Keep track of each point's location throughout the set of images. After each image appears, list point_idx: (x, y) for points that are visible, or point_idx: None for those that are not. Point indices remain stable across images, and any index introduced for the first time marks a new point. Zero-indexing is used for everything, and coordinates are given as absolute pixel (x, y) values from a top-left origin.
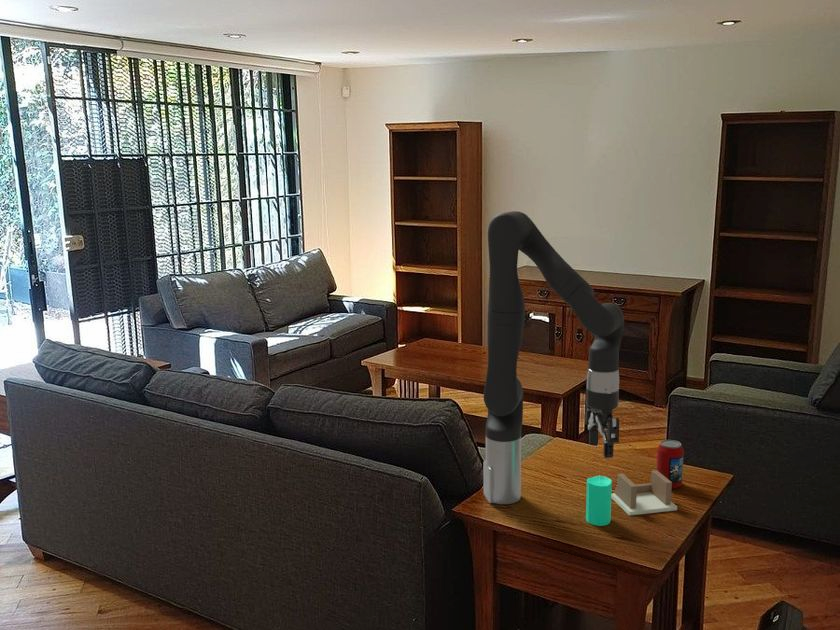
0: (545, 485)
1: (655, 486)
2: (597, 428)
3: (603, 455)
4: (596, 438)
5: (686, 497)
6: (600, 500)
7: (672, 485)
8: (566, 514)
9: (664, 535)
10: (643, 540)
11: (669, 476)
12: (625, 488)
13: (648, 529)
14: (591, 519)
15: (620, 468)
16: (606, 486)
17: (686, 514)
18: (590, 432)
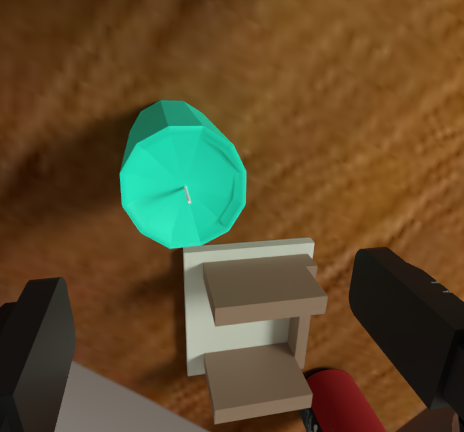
0: (461, 65)
1: (270, 367)
2: (455, 418)
3: (57, 279)
4: (378, 327)
5: None
6: (124, 154)
7: None
8: (240, 45)
9: None
10: (6, 230)
11: (312, 411)
12: (254, 287)
13: (83, 268)
14: (148, 109)
15: None
16: (122, 203)
17: (159, 380)
18: (440, 320)
